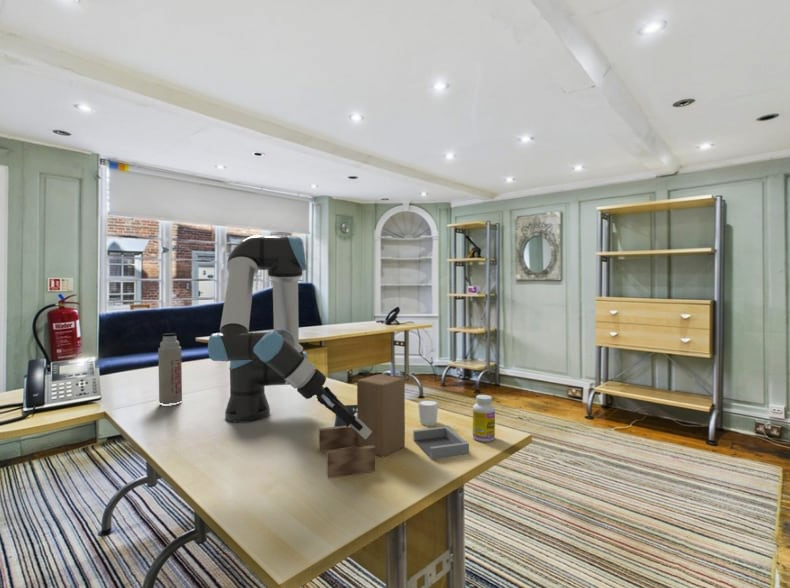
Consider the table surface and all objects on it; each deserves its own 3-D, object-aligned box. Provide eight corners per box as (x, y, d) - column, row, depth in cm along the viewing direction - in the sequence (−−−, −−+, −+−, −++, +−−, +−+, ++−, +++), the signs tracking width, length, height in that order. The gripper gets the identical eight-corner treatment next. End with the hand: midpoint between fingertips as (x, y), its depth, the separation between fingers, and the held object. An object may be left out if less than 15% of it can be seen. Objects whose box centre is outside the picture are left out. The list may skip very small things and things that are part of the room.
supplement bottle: (488, 444, 120) (488, 401, 120) (468, 438, 125) (468, 397, 124) (498, 438, 125) (499, 396, 125) (479, 432, 129) (479, 392, 129)
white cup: (442, 422, 139) (442, 402, 139) (430, 428, 134) (429, 407, 134) (426, 418, 144) (426, 398, 143) (414, 423, 139) (413, 402, 138)
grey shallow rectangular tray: (431, 459, 110) (431, 448, 110) (413, 440, 124) (413, 430, 123) (468, 454, 113) (468, 443, 113) (447, 435, 127) (447, 426, 127)
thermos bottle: (186, 402, 163) (185, 332, 163) (166, 407, 157) (165, 335, 156) (175, 399, 168) (173, 331, 167) (155, 404, 161) (153, 333, 160)
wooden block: (379, 438, 125) (378, 373, 125) (405, 446, 119) (405, 378, 118) (356, 448, 117) (356, 379, 117) (383, 458, 111) (383, 384, 111)
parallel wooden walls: (327, 477, 100) (327, 453, 100) (319, 449, 117) (319, 428, 117) (375, 470, 103) (375, 447, 103) (360, 444, 121) (360, 424, 120)
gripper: (294, 383, 112) (354, 436, 118) (297, 396, 100) (364, 455, 105) (313, 363, 114) (371, 416, 119) (319, 373, 101) (384, 432, 107)
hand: (368, 434), depth 112 cm, fingers closed
